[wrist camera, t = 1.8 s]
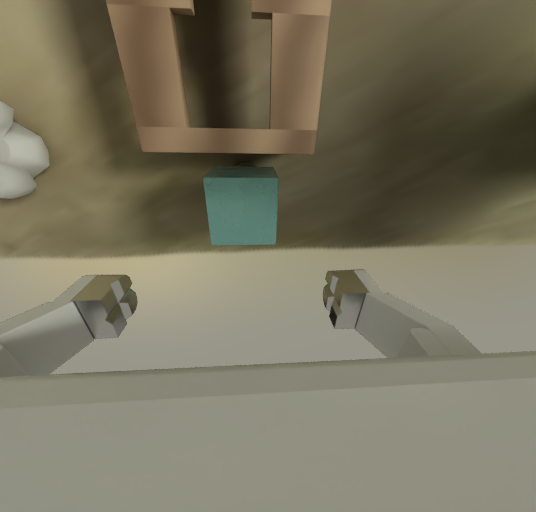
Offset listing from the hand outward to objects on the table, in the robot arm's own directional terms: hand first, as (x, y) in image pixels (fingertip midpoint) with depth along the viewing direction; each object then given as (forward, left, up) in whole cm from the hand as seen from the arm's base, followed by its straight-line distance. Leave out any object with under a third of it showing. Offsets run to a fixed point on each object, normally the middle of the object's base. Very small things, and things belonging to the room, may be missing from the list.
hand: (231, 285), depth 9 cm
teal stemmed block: (0, 0, -21) cm, 21 cm away
